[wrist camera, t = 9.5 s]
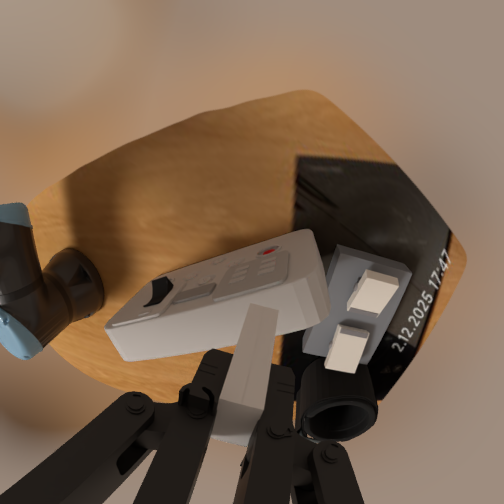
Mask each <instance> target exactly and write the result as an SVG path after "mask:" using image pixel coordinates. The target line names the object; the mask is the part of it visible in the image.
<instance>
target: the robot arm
mask: <svg viewBox="0 0 504 504" xmlns="http://www.w3.org/2000/svg"><path fill="white" fill-rule="evenodd" d="M32 229H33V226H32V225H31V222H30V217H29V213H28V209H27V207H26V205H24V204H23V203H10V204H2V205H0V342H1V344H2V345H3V346H4V347H5V348H6V349H7V350H8V351H9V352H10V353H12V354H13V355H14V356H16V357H17V358H20V359H22V360H28V359H31V358H32V357H34V356H35V355H36V354H37V353H39V352H41V351H42V350H43V348H44V347H45V346H46V345H47V344H48V343H50V342H51V341H52V340H53V339H54V338H55V337H56V336H57V335H58V334H59V333H60V332H61V331H63V330H64V329H65V328H66V327H67V326H68V325H69V324H70V323H72V322H75V321H78V320H81V319H83V318H88V317H90V316H92V315H93V314H95V313H96V312H97V311H98V310H99V309H100V308H101V306H102V304H103V300H104V290H103V285H102V281H101V278H100V276H99V274H98V272H97V270H96V268H95V267H94V265H93V264H92V263H91V261H90V260H89V259H88V258H87V257H86V256H85V255H83V254H82V253H80V252H79V251H77V250H74V249H64V250H62V251H60V252H58V253H57V254H55V255H54V256H53V257H52V258H51V260H50V262H49V263H48V264H47V265H46V267H45V268H44V269H43V270H41V267H40V263H39V259H38V254H37V250H36V245H35V241H34V236H33V231H32ZM278 312H279V310H276V309H272V308H268V307H264V306H260V305H257V304H253V303H250V305H249V308H248V311H247V314H246V317H245V321H244V324H243V327H242V330H241V333H240V336H239V339H238V342H237V346H236V349H235V352H234V354H230V353H227V352H223V351H220V350H217V349H213V348H212V349H211V350H209V351H208V352H207V353H205V354H204V356H203V359H202V361H201V363H200V365H199V367H198V370H197V372H196V374H195V376H194V378H193V381H192V383H189V384H187V385H184V386H183V387H182V388H181V389H180V390H179V400H178V402H175V403H156V402H153V401H152V399H151V398H150V397H148V396H147V395H146V394H143V393H141V392H135V391H133V392H127V393H125V394H123V395H122V396H120V397H119V398H118V399H117V400H116V401H114V402H113V403H112V404H111V405H110V406H109V407H108V408H106V409H105V410H104V411H103V412H102V413H101V414H99V415H98V416H97V417H96V418H95V419H93V420H92V421H91V422H90V423H89V424H88V425H86V426H85V427H84V428H83V429H82V430H80V431H79V432H78V433H77V434H76V435H74V436H73V437H72V438H71V439H70V440H68V441H67V442H66V443H65V444H63V445H62V446H61V447H60V448H59V449H57V450H56V451H55V452H54V453H53V454H51V455H50V456H49V457H48V458H47V459H45V460H44V461H43V462H42V463H40V464H39V465H38V466H37V467H35V468H34V469H33V470H32V471H30V472H29V473H28V474H27V475H25V476H24V477H23V478H22V479H20V480H19V481H18V482H17V483H15V484H14V485H13V486H12V487H10V488H9V489H8V490H6V491H5V492H4V493H2V494H1V495H0V504H102V503H103V502H104V501H105V500H106V499H107V498H108V497H109V496H110V495H111V494H112V493H113V492H114V491H115V490H116V489H117V488H118V487H119V486H120V485H121V484H122V483H123V482H124V481H125V480H126V479H127V478H128V477H129V475H130V474H131V473H132V472H133V471H134V470H135V469H136V468H137V467H138V466H139V465H140V464H141V463H142V461H143V460H144V459H145V458H146V457H147V456H148V455H149V454H150V453H151V452H152V450H157V452H156V454H155V456H154V458H153V461H152V463H151V465H150V467H149V469H148V472H147V474H146V476H145V478H144V480H143V482H142V485H141V487H140V489H139V491H138V493H137V496H136V498H135V500H134V502H133V504H189V502H190V499H191V495H192V493H193V490H194V487H195V484H196V481H197V477H198V474H199V472H200V468H201V465H202V462H203V459H204V456H205V453H206V450H207V446H208V443H209V439H210V438H213V439H217V440H220V441H224V442H228V443H232V444H236V445H240V446H244V447H247V445H248V448H247V452H246V455H245V457H244V459H243V461H242V463H241V465H240V466H242V468H241V472H240V476H239V481H238V485H237V489H236V494H235V498H234V502H233V504H289V501H290V493H291V498H292V503H293V504H364V501H363V498H362V495H361V492H360V489H359V486H358V483H357V480H356V477H355V474H354V471H353V468H352V465H351V462H350V459H349V457H348V453H347V452H346V450H345V448H344V447H343V446H342V445H341V444H339V443H337V442H335V441H329V440H325V441H322V442H319V443H318V444H317V443H314V442H312V441H310V440H308V439H305V438H304V437H302V436H301V435H299V434H298V433H297V431H296V430H295V429H294V426H293V421H292V419H293V404H294V386H295V376H294V374H293V371H292V369H291V368H289V367H284V366H280V365H276V364H271V361H272V354H273V348H274V341H275V334H276V326H277V319H278Z"/></svg>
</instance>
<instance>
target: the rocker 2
mask: <svg viewBox="0 0 504 504" xmlns="http://www.w3.org/2000/svg"><path fill="white" fill-rule="evenodd" d="M398 287H399V283H398V278H396V277H392V276H389V275H385V274H382V273H378V272H374V271H371V270H367V269H366V270H365V272H364V274H363V276H362V278H361V279H360V281H359V283H355V285H354V288H353V293H352V295H351V297H350V298H349V300H348V302H347V311H349V312H354V313H358V314H362V315H367V316H371V317H375V318H376V317H378V315H379V314H380V313H381V311H382V310H383V309H384V307H385V306H386V304H387V303H388V302H389V300H390V299H391V297H392V296H393V294H394V293H395V292H396V290H397V289H398Z"/></svg>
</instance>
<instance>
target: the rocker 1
mask: <svg viewBox="0 0 504 504" xmlns="http://www.w3.org/2000/svg"><path fill="white" fill-rule="evenodd" d="M368 336H369V332H368V331H367V330H363V329H358V328H354V327H349V326H344V325H340V324H338V326H337V329H336V332H335V335H334V338H333V341H330V343H329V348H330V349H329V352H328V355H327V358H326V360H325V363H324V365H325V368H327V369H332V370H337V371H343V372H349V373H354V374H355V371H356V369H357V366H358V363H359V361H360V358H361V356H362V353H363V350H364V347H365V345H366V342H367V339H368Z"/></svg>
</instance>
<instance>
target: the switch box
mask: <svg viewBox="0 0 504 504" xmlns="http://www.w3.org/2000/svg"><path fill="white" fill-rule="evenodd" d="M366 269H367V270H371V271H374V272H378V273H382V274H385V275H389V276H392V277H396V278H398V283H399V287H398V289H397V290H396V292H395V293H394V294H393V296H392V297H391V299H390V300H389V302H388V303H387V304H386V306H385V307H384V309H383V310H382V311H381V313H380V314H379V315H378V317H376V318H375V317H371V316H367V315H362V314H358V313H354V312H349V311H347V302H348V300H349V298H350V297H351V295H352V293H353V288H354V285H355V283H359V281H360V279H361V278H362V276H363V274H364V272H365V270H366ZM411 276H412V272H411V271H410V270H409V269H408V268H407V266H406V265H405V264H404V263H401V262H397V261H394V260H391V259H387V258H384V257H380V256H377V255H374V254H370V253H367V252H363V251H360V250H356V249H353V248H349V247H346V246H342V245H339V244H337V245H336V248H335V252H334V255H333V258H332V260H331V263H330V266H329V269H328V272H327V275H326V283H327V288H328V293H329V298H330V304H331V309H330V313H329V315H328V316H327V317H326V318H325V319H324V320H323V321H322V322H321V323H319V324H316V325H314V326H312V327H309V328H307V329H306V331H305V334H304V336H303V352H304V353H309V354H314V355H318V356H323V357H327V355H328V352H329V349H330V348H329V343H330V341H333V338H334V335H335V332H336V329H337V326H338V324H340V325H344V326H349V327H354V328H358V329H363V330H367V331H368V332H369V336H368V339H367V342H366V345H365V347H364V350H363V353H362V356H361V358H360V361H359V363H360V364H366V365H367V364H368V362H369V360H370V359H371V357H372V355H373V353H374V352H375V350H376V348H377V346H378V344H379V343H380V341H381V339H382V337H383V335H384V333H385V331H386V329H387V327H388V325H389V323H390V321H391V319H392V317H393V315H394V313H395V311H396V309H397V307H398V305H399V303H400V301H401V298H402V296H403V294H404V292H405V289H406V287H407V285H408V283H409V280H410V278H411Z"/></svg>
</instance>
